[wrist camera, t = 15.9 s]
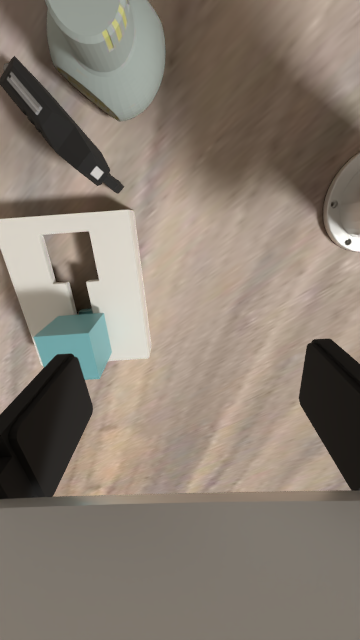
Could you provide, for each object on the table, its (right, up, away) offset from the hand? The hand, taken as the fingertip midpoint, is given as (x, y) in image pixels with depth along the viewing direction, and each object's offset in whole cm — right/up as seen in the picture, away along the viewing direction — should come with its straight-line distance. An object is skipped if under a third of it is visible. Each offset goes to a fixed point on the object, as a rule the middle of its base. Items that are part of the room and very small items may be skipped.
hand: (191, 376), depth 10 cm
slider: (-13, +2, +27) cm, 30 cm away
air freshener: (-7, +30, +16) cm, 34 cm away
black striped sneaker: (-13, +24, +18) cm, 33 cm away
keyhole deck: (-14, +7, +25) cm, 29 cm away
